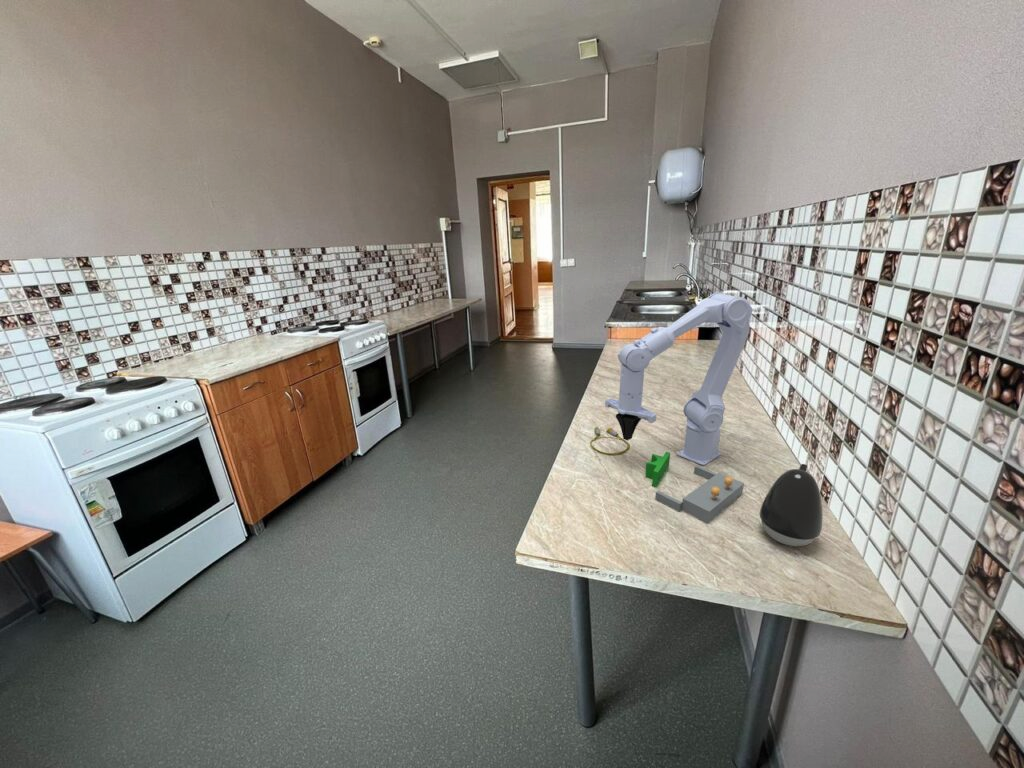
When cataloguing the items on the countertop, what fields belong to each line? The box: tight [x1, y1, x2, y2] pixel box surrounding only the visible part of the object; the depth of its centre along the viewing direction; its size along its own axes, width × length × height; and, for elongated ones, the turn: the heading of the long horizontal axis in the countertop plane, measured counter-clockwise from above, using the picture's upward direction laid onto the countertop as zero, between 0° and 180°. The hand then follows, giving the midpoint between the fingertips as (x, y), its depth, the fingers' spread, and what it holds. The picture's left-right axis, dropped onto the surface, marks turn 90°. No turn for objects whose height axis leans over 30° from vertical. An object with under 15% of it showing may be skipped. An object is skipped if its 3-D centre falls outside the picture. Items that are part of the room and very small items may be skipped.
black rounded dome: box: [759, 463, 824, 547], centre depth 79 cm, size 10×10×15 cm
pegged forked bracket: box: [654, 464, 745, 524], centre depth 94 cm, size 18×12×6 cm, turn 128°
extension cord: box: [589, 426, 631, 457], centre depth 121 cm, size 12×16×2 cm
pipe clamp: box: [644, 451, 671, 488], centre depth 104 cm, size 11×4×5 cm, turn 145°
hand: (627, 438), depth 109 cm, fingers closed
